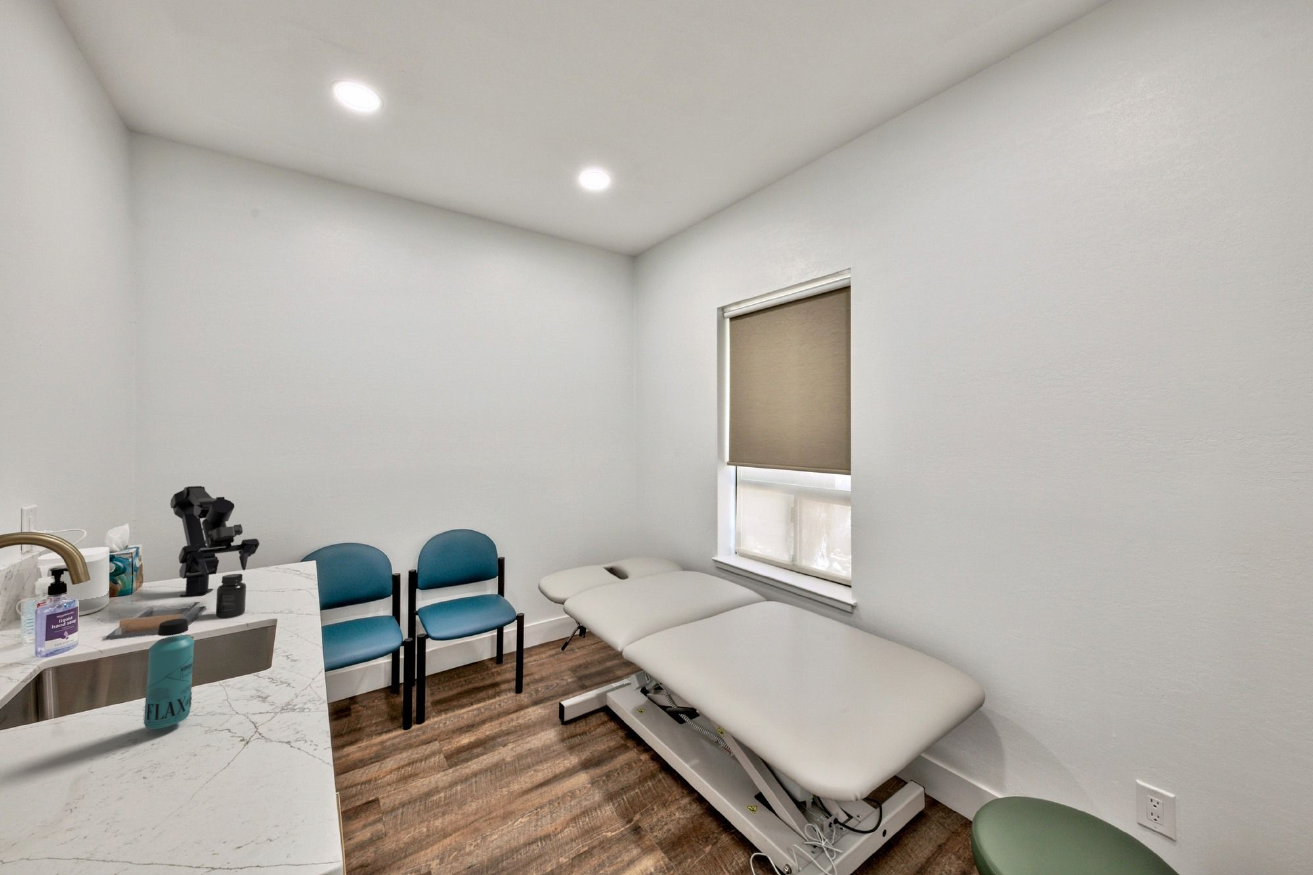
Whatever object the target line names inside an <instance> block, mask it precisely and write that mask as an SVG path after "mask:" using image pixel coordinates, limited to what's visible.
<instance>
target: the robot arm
mask: <svg viewBox="0 0 1313 875" xmlns="http://www.w3.org/2000/svg"><path fill="white" fill-rule="evenodd" d="M169 503H170V505H169V506H170V508H171V509H172V510H173V514H174V515H175V516H177V517H178V518H180V519H181V522H182V526H183V532H184V535H185V540H186V545H184V546H183V547H182V548H181V550H180V552H179V555H178V561H179V564H181V566H180V568H179V577H180V578H181V579H185V580H186V581H185V591H184V592H183V593H181V594H179V596H180V597H195V596H197V597H198V596H205V595H206V594H208V593H211V592H212V591H214V588H209V585H210V584H209V581H210V575H216V574H217V571H218V566H219V563H220V559H219V558H218V556H216V555H217V554H226V553H227V554H228V553H236V552H238V554H239V557H238V558H239V562H240V565H241V566H240V567H241V568H242V571H246V568H247V564H248V558H250V557H251V556H253V555H254V554H256V552H257V550H258V548H259V546H260V541H259V539H257V538H247V539H242V540H241V543H240V544H233V545H232V543H234V542H235V537H237V536H241V535H242V534H243V532H244V531H243V526H242V524H234V525H232V526H228V525H227V522H228V521H229V519H230V517H231V516H232V513H233V511H234V509H235V503H233V501H231V500H228V499H226V498H225V496H216V497H215V498H214V497H213V496H211V495H210V494H209V493H208V492H207V491H206V488H205V486H202V485H193V486H192V485H191V486H186V487H184V488H183V490H180V491H178V492H175V493H174V494H173V496H172V497H171V499H170V502H169ZM201 519H203V520H201Z"/></svg>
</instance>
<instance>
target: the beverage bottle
mask: <svg viewBox="0 0 1313 875" xmlns="http://www.w3.org/2000/svg"><path fill="white" fill-rule="evenodd" d="M188 630H189V626H188V620H187V619H172V620H168V621H164V622H162V623H160V625H159V631H158V634H157V635H158V637H160V636H161V637H163V638H161V639H159V640H157V641H156V642H155V643H153V644H152V645H151V646H150V647H149V648H148V654H149V655H148V666H147V682H146V683H147V684H146V688H145V690H144V691H145V698H144V712H143V715H142V716H143V719H142V721H143V725H144V727H145V728H146V729H149V730H150V729H151V730H153V729H162V728H163V729H164V728H167V727H171V726H174V725H177V724H178V723H180V722H181V723H182V721H185V720H186V719H187V718H188V717H189V715H190V713H191V708H192V702H193V701H192V700H193V697H192V694H193V688H192V687H193V672H194V670H195V669H194V666H195V663H194V659H195V657H194V650H195V649H194V647H195V639H194V638H192V637H190V636H188V635H185V634H184V633H185V632H187V631H188ZM183 634H184V635H183Z"/></svg>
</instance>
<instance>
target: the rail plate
mask: <svg viewBox="0 0 1313 875" xmlns="http://www.w3.org/2000/svg"><path fill="white" fill-rule="evenodd" d="M206 610H207V605H205V606H201V601H197V602H195V601H194V603H192V604H191V605H190V606H189V607H181V608H169V609H162V610H154V606H153V605H151V606H150V605H149V606H148V605H147V606H146V607H145V608H143V609H142V610H141V611H139V612H137V613H136V614H135V615H134V616H132V617H130V618H126V619H124V618H122V619H120V620H119V624H118V625H119V626H118V627H116V628H115V629H114V630H113V631H111V632H110V633H109V634H107V635H106V639H110V640H116V639H126V638H127V637H128V638H138V637H145V636H146V635H147V636H156V635H158V631H159V625H160V623H162V622H164V621H168V620H172V619H187V620H188V627H189V626H190V625H191V624H192V623H193V622H194V621H195V620H196V619H197V618H199V616H201V615H202V614H203V613H204V612H205V611H206ZM137 636H138V637H137Z"/></svg>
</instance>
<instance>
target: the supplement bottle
mask: <svg viewBox="0 0 1313 875" xmlns="http://www.w3.org/2000/svg"><path fill="white" fill-rule="evenodd" d="M220 583H221V585H219V586H218V587H217V589H216V603H215V604H216V605H215V606H216V607H215V617H216V618H218V619H230V618H236V617H239V616H242V615H243V614H245V612H246V599H247V598H246V597H247V585H246V583H245V582H243V573H230V574H224V575H223V576H222V577H221V582H220Z"/></svg>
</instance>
